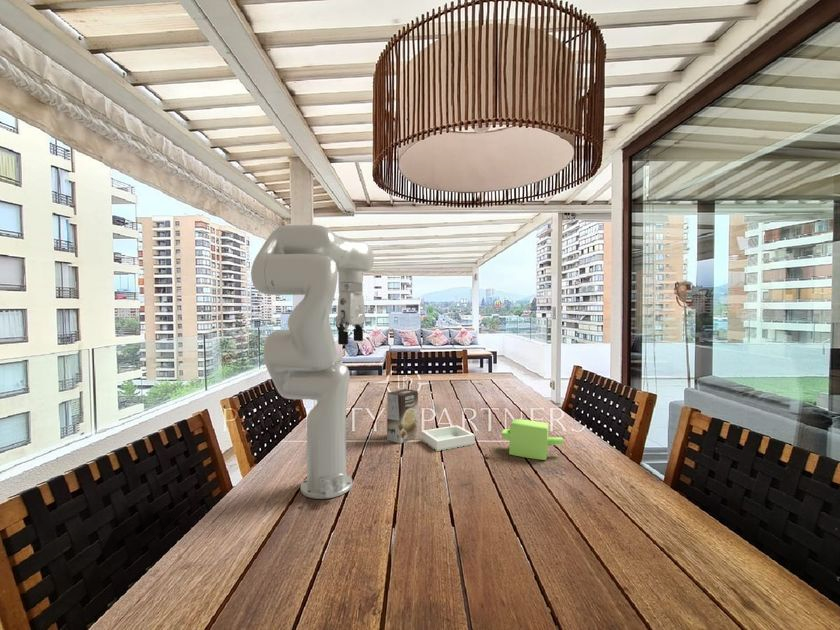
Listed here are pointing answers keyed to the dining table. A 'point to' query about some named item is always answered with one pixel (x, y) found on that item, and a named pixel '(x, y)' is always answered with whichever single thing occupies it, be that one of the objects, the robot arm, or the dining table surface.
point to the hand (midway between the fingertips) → (351, 342)
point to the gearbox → (529, 439)
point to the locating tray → (448, 437)
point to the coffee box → (402, 415)
